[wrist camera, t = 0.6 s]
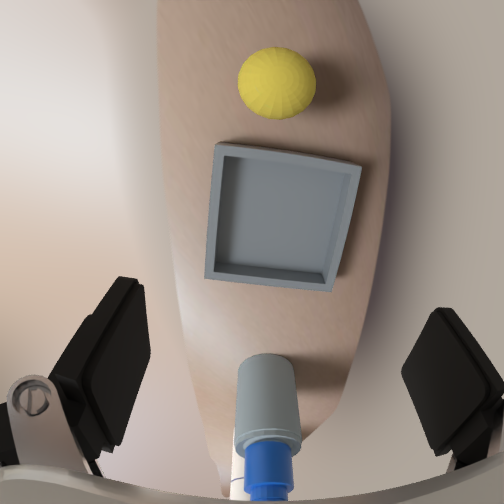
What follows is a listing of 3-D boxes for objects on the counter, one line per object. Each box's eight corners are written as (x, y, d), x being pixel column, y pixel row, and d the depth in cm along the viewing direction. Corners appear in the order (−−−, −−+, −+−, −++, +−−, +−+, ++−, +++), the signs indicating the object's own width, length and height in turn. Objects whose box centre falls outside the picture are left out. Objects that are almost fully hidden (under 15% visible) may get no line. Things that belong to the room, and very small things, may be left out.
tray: (219, 142, 31) (214, 144, 28) (352, 161, 32) (362, 167, 29) (208, 264, 38) (204, 278, 35) (325, 277, 38) (331, 292, 35)
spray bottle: (254, 346, 44) (252, 508, 21) (304, 364, 45) (325, 512, 23) (228, 380, 47) (217, 522, 24) (276, 394, 49) (282, 528, 26)
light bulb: (229, 100, 30) (218, 93, 20) (261, 50, 27) (263, 24, 18) (283, 130, 31) (295, 135, 22) (315, 81, 28) (339, 67, 19)
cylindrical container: (275, 426, 53) (279, 539, 31) (259, 441, 56) (259, 544, 33) (242, 419, 52) (237, 537, 29) (228, 434, 55) (221, 541, 32)
